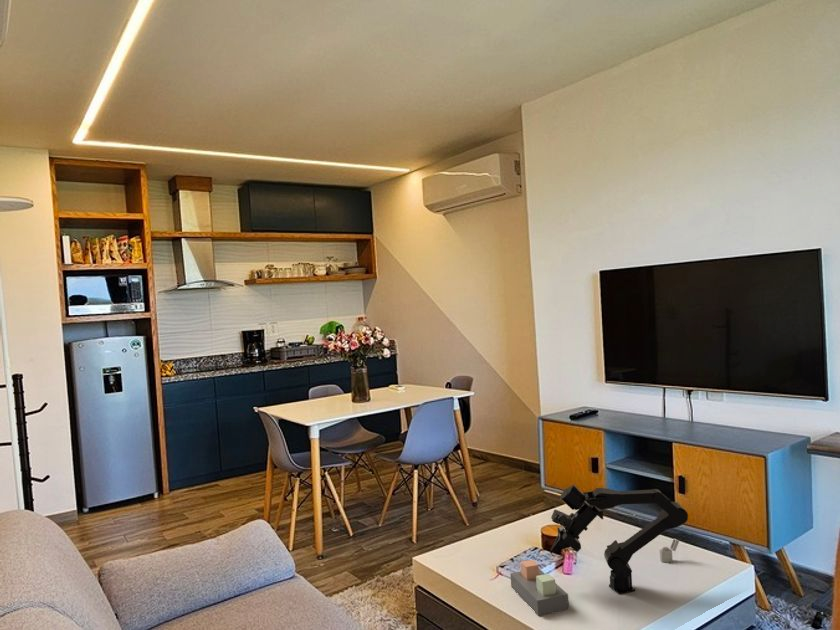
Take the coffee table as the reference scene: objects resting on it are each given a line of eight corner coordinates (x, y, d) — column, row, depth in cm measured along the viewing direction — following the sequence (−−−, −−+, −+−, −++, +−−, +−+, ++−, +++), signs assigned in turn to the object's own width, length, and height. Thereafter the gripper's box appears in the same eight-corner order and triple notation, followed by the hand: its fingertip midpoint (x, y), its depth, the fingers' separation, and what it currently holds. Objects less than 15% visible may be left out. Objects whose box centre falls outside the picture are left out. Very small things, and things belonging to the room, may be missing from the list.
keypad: (539, 581, 214) (538, 568, 214) (568, 609, 194) (568, 594, 194) (511, 587, 212) (510, 573, 211) (538, 616, 191) (537, 600, 191)
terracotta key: (533, 574, 211) (532, 559, 211) (539, 580, 207) (538, 564, 207) (521, 577, 210) (520, 561, 210) (527, 582, 206) (526, 567, 206)
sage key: (549, 589, 200) (548, 573, 200) (556, 596, 195) (555, 579, 195) (536, 592, 199) (536, 576, 199) (543, 598, 194) (542, 581, 194)
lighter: (662, 562, 224) (661, 541, 224) (660, 560, 225) (658, 539, 225) (680, 560, 224) (679, 539, 224) (677, 558, 226) (676, 537, 226)
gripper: (560, 494, 216) (531, 525, 218) (569, 512, 198) (537, 546, 199) (583, 515, 216) (554, 546, 217) (594, 535, 197) (562, 569, 198)
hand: (551, 551), depth 208 cm, fingers closed
